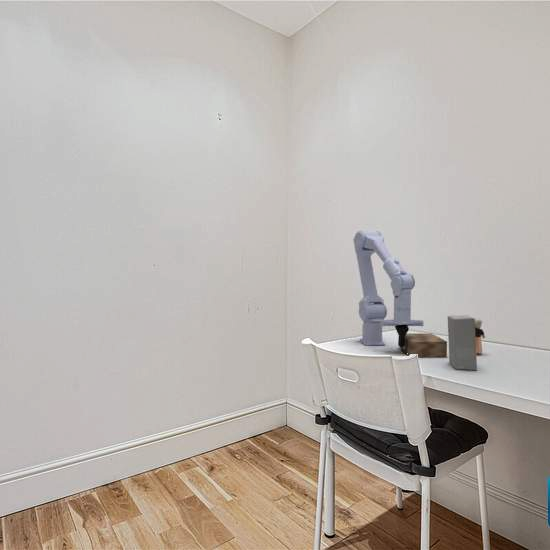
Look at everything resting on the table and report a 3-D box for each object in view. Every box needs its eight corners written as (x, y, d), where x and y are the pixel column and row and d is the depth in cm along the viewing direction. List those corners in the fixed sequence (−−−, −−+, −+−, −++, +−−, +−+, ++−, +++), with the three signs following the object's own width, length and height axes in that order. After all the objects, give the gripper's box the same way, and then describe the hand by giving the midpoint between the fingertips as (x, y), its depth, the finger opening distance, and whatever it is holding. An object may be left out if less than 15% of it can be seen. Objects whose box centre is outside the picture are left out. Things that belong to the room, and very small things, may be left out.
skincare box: (477, 370, 123) (478, 318, 123) (452, 369, 125) (453, 318, 124) (469, 363, 132) (470, 314, 131) (446, 362, 133) (446, 313, 132)
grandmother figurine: (475, 357, 140) (476, 320, 139) (464, 354, 143) (465, 318, 142) (488, 353, 144) (489, 317, 143) (477, 351, 147) (478, 316, 146)
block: (409, 357, 139) (409, 341, 139) (397, 347, 153) (397, 333, 153) (446, 357, 139) (447, 341, 139) (431, 347, 153) (431, 333, 153)
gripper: (384, 309, 141) (384, 348, 142) (426, 309, 141) (426, 348, 142) (379, 307, 149) (379, 344, 149) (419, 307, 148) (419, 344, 149)
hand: (401, 346), depth 146 cm, fingers closed, pressing on block
